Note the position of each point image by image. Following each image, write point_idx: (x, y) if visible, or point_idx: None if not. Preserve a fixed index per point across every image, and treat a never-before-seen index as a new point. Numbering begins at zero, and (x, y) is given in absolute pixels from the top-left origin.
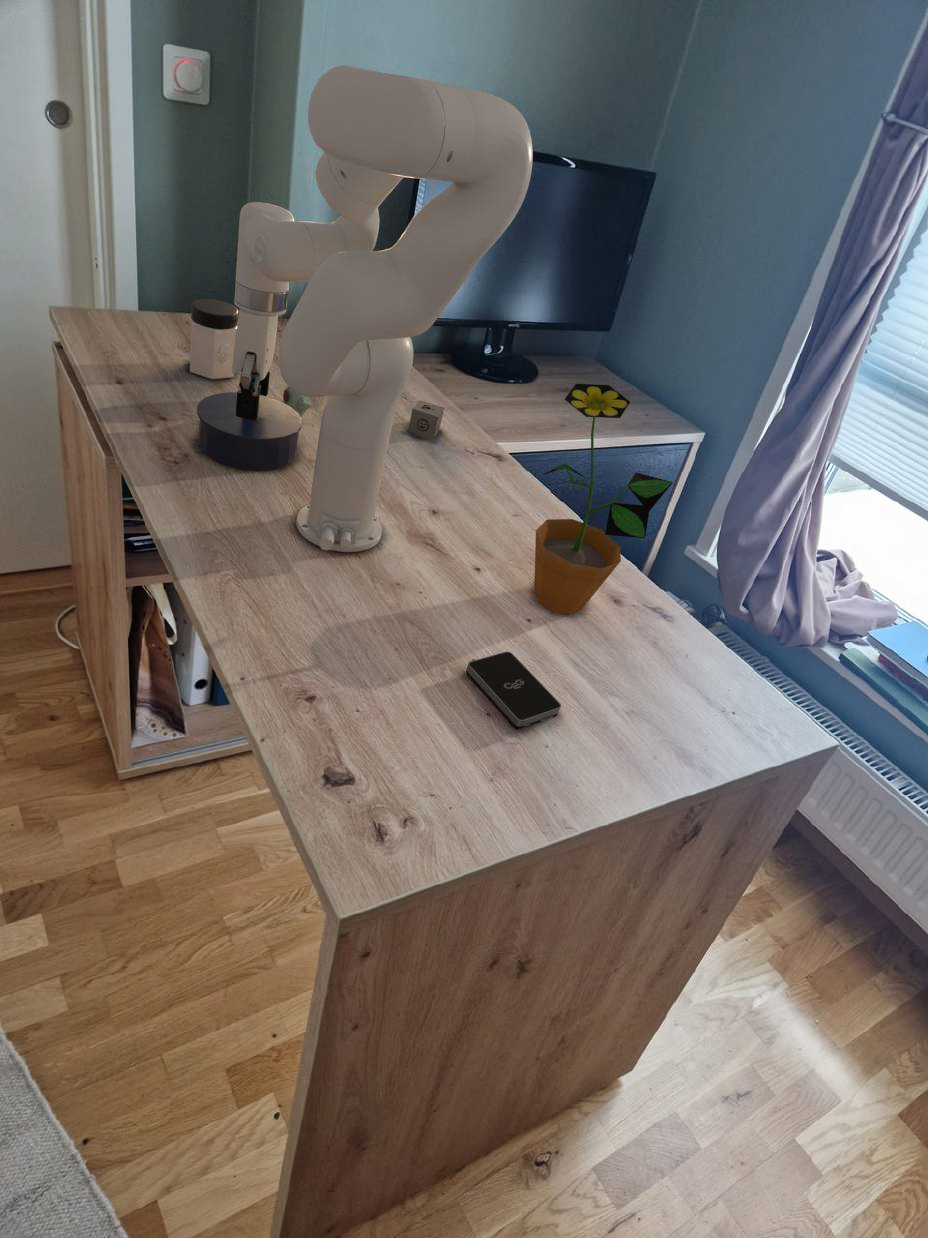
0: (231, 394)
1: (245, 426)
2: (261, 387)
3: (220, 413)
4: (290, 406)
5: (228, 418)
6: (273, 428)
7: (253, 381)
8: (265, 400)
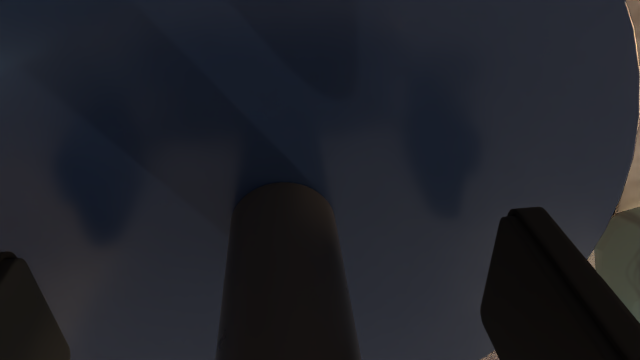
0: (581, 25)
1: (81, 243)
2: (511, 335)
3: (160, 43)
4: (624, 266)
5: (117, 122)
6: (176, 351)
7: (542, 320)
8: None
